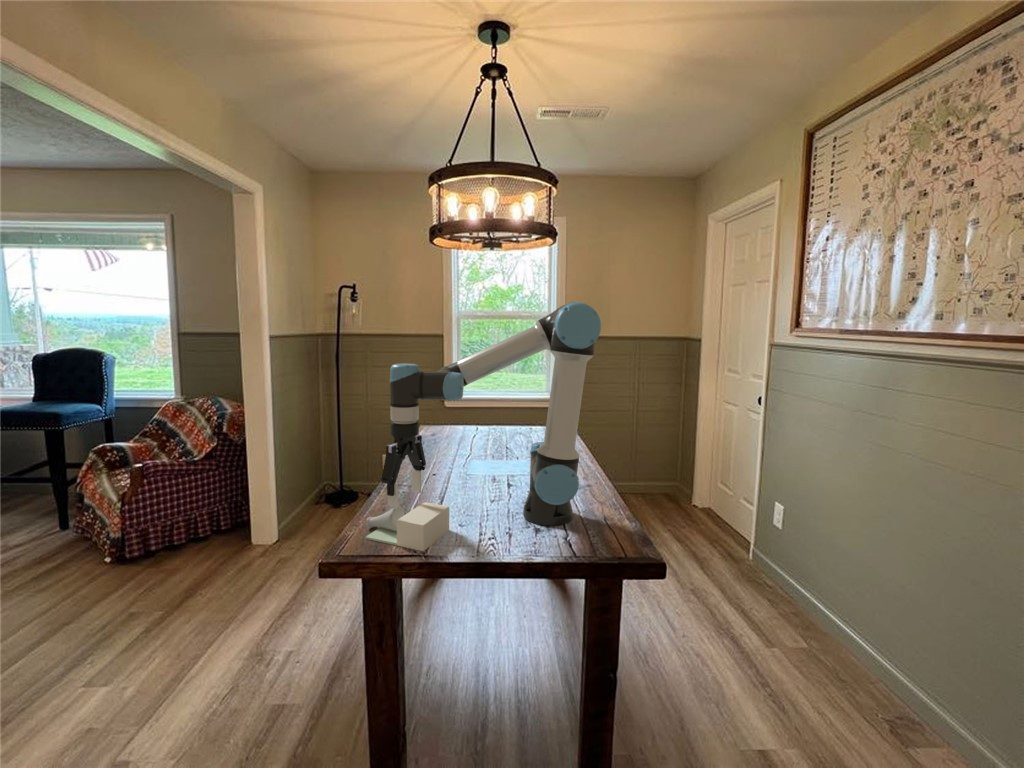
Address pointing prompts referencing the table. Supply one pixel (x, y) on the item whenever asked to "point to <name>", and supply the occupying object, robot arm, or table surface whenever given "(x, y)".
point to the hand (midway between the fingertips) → (405, 499)
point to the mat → (383, 536)
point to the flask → (386, 519)
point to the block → (422, 526)
